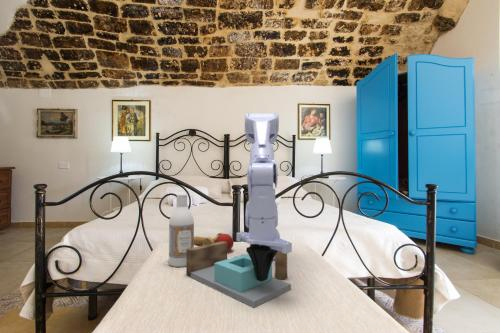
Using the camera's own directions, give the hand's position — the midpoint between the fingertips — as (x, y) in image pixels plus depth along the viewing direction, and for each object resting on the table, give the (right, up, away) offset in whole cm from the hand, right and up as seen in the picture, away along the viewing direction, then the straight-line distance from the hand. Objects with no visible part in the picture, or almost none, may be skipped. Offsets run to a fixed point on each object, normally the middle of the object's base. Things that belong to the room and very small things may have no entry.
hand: (262, 279), depth 60 cm
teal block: (-4, -2, +4) cm, 6 cm away
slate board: (-6, -3, +6) cm, 9 cm away
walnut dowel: (+5, -3, +9) cm, 11 cm away
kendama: (-16, -4, +36) cm, 39 cm away
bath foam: (-22, -4, +19) cm, 30 cm away
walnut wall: (-14, -3, +14) cm, 20 cm away
